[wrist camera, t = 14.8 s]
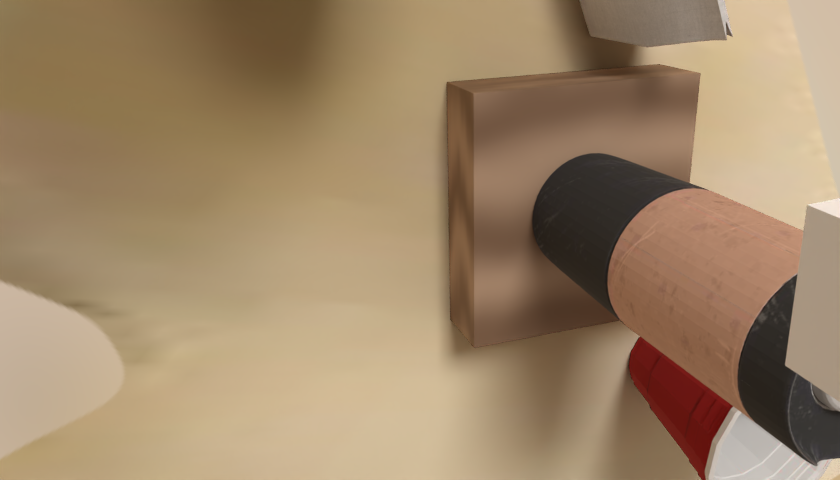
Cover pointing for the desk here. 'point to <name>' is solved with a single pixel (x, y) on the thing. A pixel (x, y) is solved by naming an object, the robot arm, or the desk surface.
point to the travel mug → (691, 285)
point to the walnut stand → (526, 174)
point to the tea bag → (657, 21)
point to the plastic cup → (712, 425)
